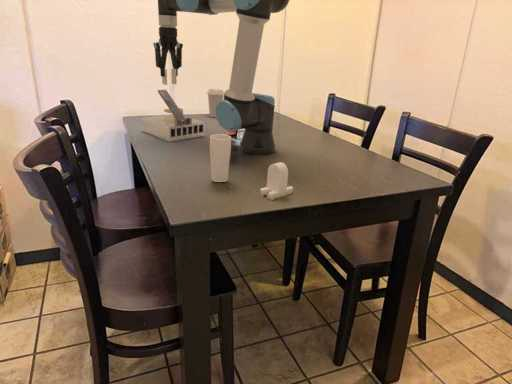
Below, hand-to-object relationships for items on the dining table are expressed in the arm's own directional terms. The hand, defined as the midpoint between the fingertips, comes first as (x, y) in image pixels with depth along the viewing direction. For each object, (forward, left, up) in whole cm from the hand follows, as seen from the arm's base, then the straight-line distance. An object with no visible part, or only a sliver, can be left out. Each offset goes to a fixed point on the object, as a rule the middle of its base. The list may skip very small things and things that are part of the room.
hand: (169, 84), depth 170 cm
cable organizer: (-79, +14, -23) cm, 83 cm away
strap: (-2, 0, -10) cm, 11 cm away
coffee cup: (+21, -44, -23) cm, 54 cm away
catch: (+7, -6, -16) cm, 19 cm away
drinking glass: (-60, +21, -23) cm, 68 cm away
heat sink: (0, -2, -23) cm, 23 cm away
